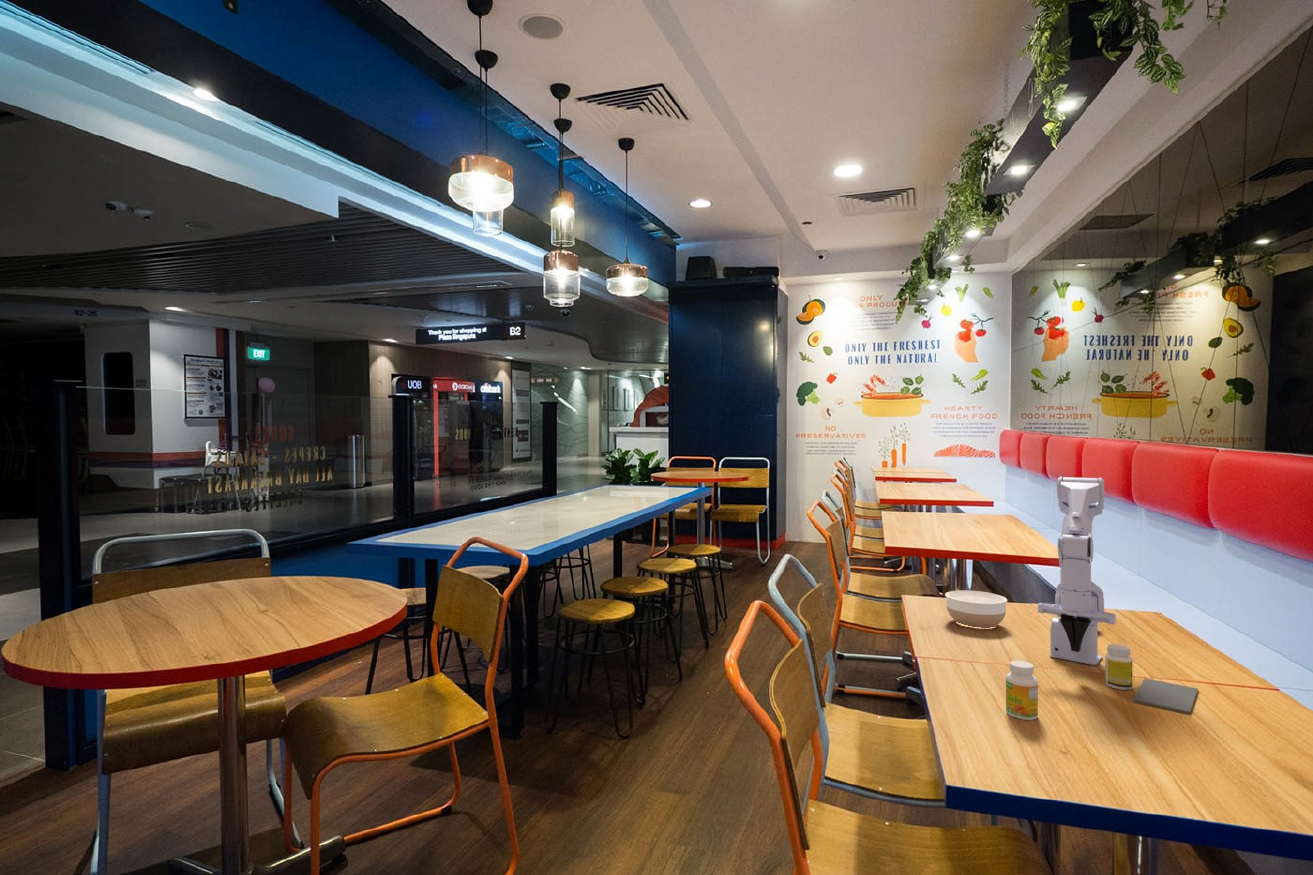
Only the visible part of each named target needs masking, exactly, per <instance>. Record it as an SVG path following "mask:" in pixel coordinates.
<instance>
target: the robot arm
mask: <svg viewBox="0 0 1313 875" xmlns="http://www.w3.org/2000/svg"><path fill="white" fill-rule="evenodd" d="M1056 498H1057V501H1058V508H1059V511H1060V512H1061V513H1063V514H1065V516H1063V518H1062V525H1061V526H1062V527H1061V535H1059V536H1058V539H1057V555H1058V561H1059V562H1058V564H1059V566H1058V567H1059V568H1060V576H1059V578H1060V582H1059V583H1058V584H1057V586H1056V590H1055V591H1056V592H1055V597H1054V599H1055V600H1054V603H1045V602H1039V603H1038V604H1037V613H1039V614H1050V615H1055V616H1057V617H1053V618H1052V620H1051V623H1050V654H1049V657H1050V658H1054V659H1055V658H1056V659H1061V660H1065V661H1070V662H1076V663H1081V664H1086V665H1090V666H1097V665H1098V664H1099V662H1100V661H1101V660H1102V659H1103V655H1101V654H1098V650H1099V649H1098V648H1099V647H1098V644H1099V643H1098V639H1099V638H1098V635H1099V634H1098V629H1099V628H1098V625H1099V623H1101V624H1102V623H1107V624H1108V625H1113V626H1114V625H1116V623H1117V614H1116V613H1110V612H1105V599H1104V591H1103V589H1102V588H1101V587H1100V586H1098V585H1097V584H1096V583H1095V582H1093V581H1092V562H1093V559H1094V540H1093V534H1092V531H1093V522H1094V519H1095V517H1096V516H1099V515H1102V514H1103V510H1104V509H1105V508H1104V507H1105V506H1104V505H1105V504H1104V503H1105V479H1103V478H1102V477H1073V476H1072V477H1070V476H1069V477H1068V476H1067V477H1065V476H1059V477H1058V478H1057V481H1056Z"/></svg>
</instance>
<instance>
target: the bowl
mask: <svg viewBox="0 0 1313 875" xmlns="http://www.w3.org/2000/svg"><path fill="white" fill-rule="evenodd" d="M944 596H945V598H946V609H947V610H946V611H947V613H948V614H949V616H950V617H951V618H952V620H954V622H955V621H956V622H958V623H961V624H964V625H968V626H972V627H981V628H990V627H995V626H997V627H998V625H1000V623H1002V622H1003V620H1004V618H1005V617H1006V612H1007V607H1006V605H1007V603H1008V599H1007V598H1006V597H1005V596H1004V595H1003V596H1002V595H1000V594H997V593H992V592H986V591H981V590H967V589H965V590H962V589H960V590H950V591H948V592H945V594H944Z"/></svg>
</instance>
